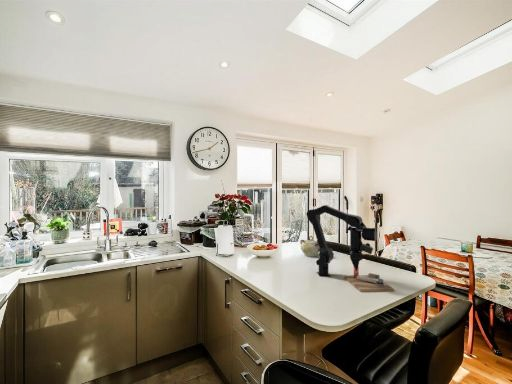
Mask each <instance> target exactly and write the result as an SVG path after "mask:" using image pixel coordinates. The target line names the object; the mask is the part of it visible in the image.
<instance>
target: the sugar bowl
mask: <svg viewBox="0 0 512 384" xmlns="http://www.w3.org/2000/svg"><path fill="white" fill-rule="evenodd" d="M299 243H300V250H301V252H302V253H303V255H304V256H305V257H317V255H319V250H320V248H319V244H318V241H316V240H314V237H313V236H312V235H310V236H309V237H308V239H307V240H305V239H301V240H300V241H299Z"/></svg>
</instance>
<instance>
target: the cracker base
mask: <svg viewBox="0 0 512 384" xmlns="http://www.w3.org/2000/svg"><path fill="white" fill-rule="evenodd" d="M369 274H374V275H375V277H376V278H380V274H377V273H376V274H375V273H371V272H370V273H368V274H367V275H366V274H365V275H364V274H363V275H361V276H365V277H367V276H369ZM343 278H344V280H346V281H347V282H348V283H350V284H351V285H352V286H353V287H354V288H355V289H356V290H357V291H359V292H361V293H362V292H363V293H364V292H365V293H366V292H367V293H370V292H373V293H374V292H394V291H395V289H394V287H392V286H390V285H389V284H387V283H386V282H385V281H383V284H377V283H374V282H370V281H366V280H361V279H357V278H354V274H351V275H343ZM376 278H375V279H376Z"/></svg>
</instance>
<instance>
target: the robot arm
mask: <svg viewBox="0 0 512 384" xmlns="http://www.w3.org/2000/svg"><path fill="white" fill-rule="evenodd" d="M325 213H326V214H328V215H331V216H332V217H335V218H338V220H339V219H340V220H342V221H343V222H344V223H346V224H347V225H348V227H347V228H346V231H350V232H349V237H350V238H349V241H350V242H349V243H350V244H349V259H350V261H351V264H352V266H353V269H354V268H355V270H357V269H358V267H359V266H360V265H359V264H360V262H361V261H362V260H363V259H364V254H363V252H365V253H368V254H369V255H372V252H373V250H374V248H373V247H372V246H371V244H370V243H368V242H366V243H363V241H362V239H363V240H364V241H371V242H376V241H377V239H378V233H377V228H376V227H367V225H366V224H365V223H364V221H363V218H362V217H361V216H359V215H355V214H350V213H346V212H343V211H342V210H339V209H337V208H334V207H332V206H329V205H327V204H324V205H321V206H320V207H317V208H314V209H313V208H311V209H309V210H307V212H306V218H307V219H308V221H309V223H310V224H311V225H312V228H313V231H314V234H315V237H316V238H315V239H316V240H317V241H316V242H318V244H319V248H320V250H319V252H318V256H319V258H318V259H317V260H316V261H315V263H316V265H317V266H318V271H316V274H317V275H318V276H319V277H330V276H331V274H330V273H329V265H330V264H331V262H332V261H333V259H334V255H335V253H334V252H333V248H332V247H331V248H330V247H329V246H328V243H327V241H326V238H325V237H326V236H325V234H324V232H323V231H324V230H323V227H322V225H321V215H323V214H325Z"/></svg>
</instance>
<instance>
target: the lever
mask: <svg viewBox="0 0 512 384" xmlns="http://www.w3.org/2000/svg"><path fill="white" fill-rule="evenodd" d="M359 268H360V266H358V269H357V270H355V268H354V267H353V275H354V278H357V279H361V280H366V281H370V282H374V283H377V284H383V282H384V279H383V278H380V277H379V278H376V279H374V278H373V277H369V276H367V277H365V276H361V275H360V274H359V273H360V272H359V271H360V270H359Z"/></svg>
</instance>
